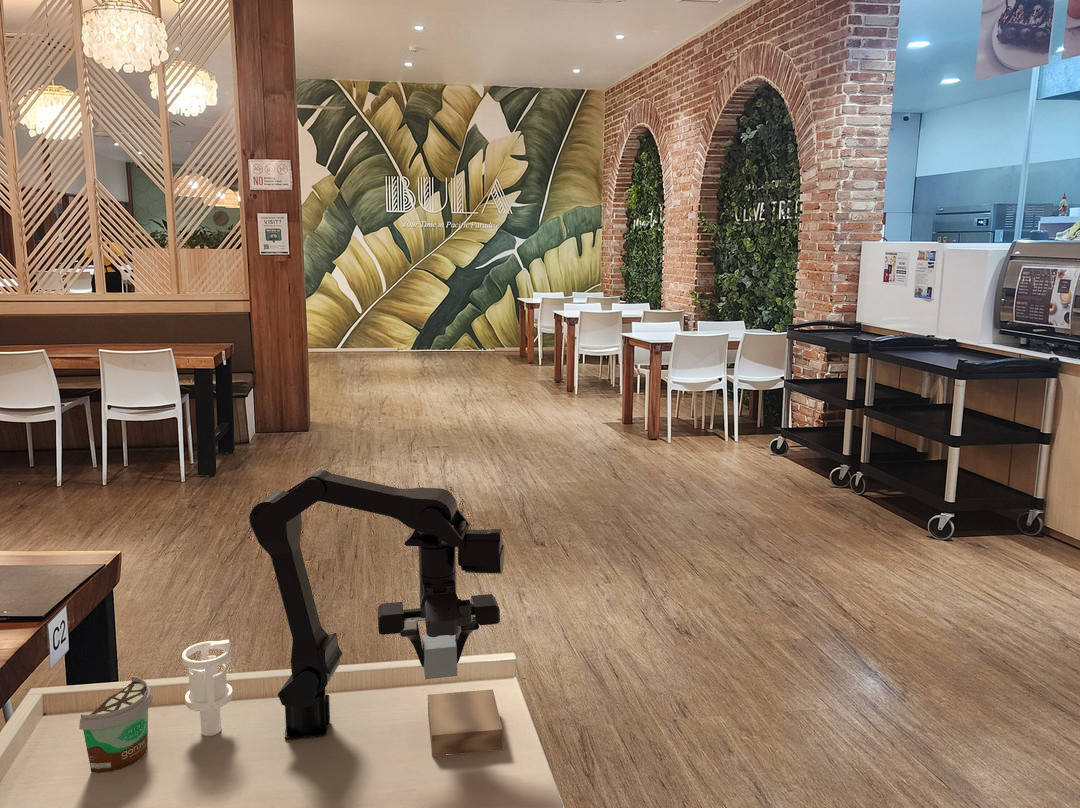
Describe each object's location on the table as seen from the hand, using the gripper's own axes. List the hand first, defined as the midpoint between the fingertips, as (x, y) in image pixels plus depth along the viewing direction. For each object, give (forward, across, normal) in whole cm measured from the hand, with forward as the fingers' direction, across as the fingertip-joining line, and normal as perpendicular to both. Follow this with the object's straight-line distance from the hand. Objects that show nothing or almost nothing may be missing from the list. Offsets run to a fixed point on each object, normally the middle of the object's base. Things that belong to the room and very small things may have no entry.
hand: (439, 663), depth 135 cm
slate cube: (+1, 0, 0) cm, 1 cm away
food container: (+12, -47, +3) cm, 49 cm away
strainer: (+12, -36, +8) cm, 39 cm away
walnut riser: (+13, +4, 0) cm, 13 cm away
